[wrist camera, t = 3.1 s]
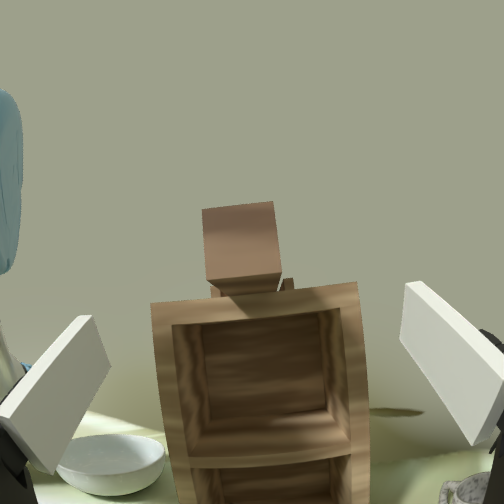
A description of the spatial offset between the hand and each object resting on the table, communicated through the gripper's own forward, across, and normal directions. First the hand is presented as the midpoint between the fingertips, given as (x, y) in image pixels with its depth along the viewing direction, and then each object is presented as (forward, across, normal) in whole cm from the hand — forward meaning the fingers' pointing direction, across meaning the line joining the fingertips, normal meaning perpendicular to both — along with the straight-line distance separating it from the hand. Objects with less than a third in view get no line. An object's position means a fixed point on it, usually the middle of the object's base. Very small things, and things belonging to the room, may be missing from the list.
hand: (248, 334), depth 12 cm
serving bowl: (+15, -28, -40) cm, 52 cm away
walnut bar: (+15, 0, -6) cm, 16 cm away
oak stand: (+4, 0, -34) cm, 34 cm away
